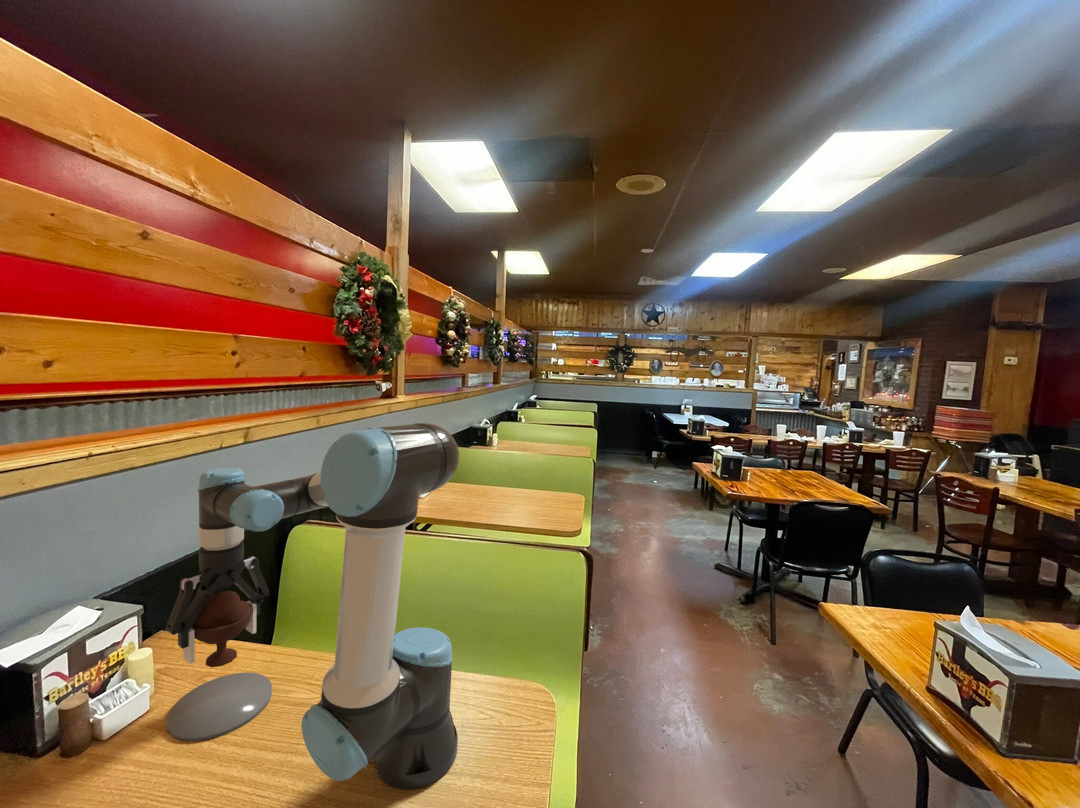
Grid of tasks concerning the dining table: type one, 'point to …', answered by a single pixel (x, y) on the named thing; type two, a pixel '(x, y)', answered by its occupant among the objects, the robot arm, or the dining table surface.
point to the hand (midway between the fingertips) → (221, 645)
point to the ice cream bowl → (222, 625)
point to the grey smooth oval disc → (219, 706)
